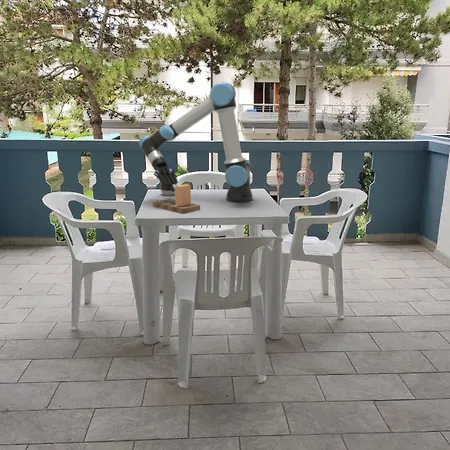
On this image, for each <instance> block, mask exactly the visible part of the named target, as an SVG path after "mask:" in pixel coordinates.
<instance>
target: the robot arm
mask: <svg viewBox="0 0 450 450" xmlns="http://www.w3.org/2000/svg"><path fill="white" fill-rule="evenodd" d="M236 96H237V93H236V89H235V87H234V85H232V84H231V83H229V82H226V81H219V82H216V83H215V84H213V86H211V88H210V92H209V95H208V97H207V98H206V99H204V100H203V101H202V102H200V103H199V104H198V105H196V106H194V107H193V108H192V109H190V110H189V111H188V112H186V113H185V114H183V115H182V116H180V117H179V118H177V119H175V121H173V122H172V123H170V124H169V125H168V124H163V125H162V126H161V127H159V128H158V129H157V131H155V132H154V133H152V134H151V135H144V136H143V137H141V138H140V139H139V141H138V144H139V146H140V149H141V150H142V152H143V153H144V155H145V157H146V158H147V160H148V162H149V163H150V165H151V167H152V168H153V170H154V173H153V176H155V177H156V178H157V180H159V181H160V182H162V183H163V185H164V186H165V187H168V188H170V189H171V191H172V192H173V193H174V194H173V195H175V186H178V183H179V182H178V179H177V176H176V172H175V169H174V168H170V167H169V166H168V163H167V160H166V159H165V158H164V156H163V155H162V153H161V152H160V150H159V149H160V148H161V147H162V146H163V145H164V144H166V143H167V142H171V141H174V140H175V139H176V138H177V137H178V136H180V135H181V134H183V133H184V132H185V131H187V130H189V129H190V128H192V127H193V126H195V125H196V124H197V123H199V122H201V121H202V120H204V118H206V117H207V116H209V115H210V114H212V113H214V112H215V113H216V114H217V117H218V121H219V122H218V123H219V126H220V127H219V128H220V132H221V139H222V144H223V149H224V155H225V161H224V162H223V165H224V170H225V171H224V172H225V173H224V178H225V181H226V183H227V184H228V185H229V187H228V189H227V193H226V201H228V202H232V203H233V202H234V203H247V202H251V201H253V199H254V196H253V193H252V189H251V184H250V183H251V181H250V180H251V179H250V177H251V161H250V160H249V159H246V158H245V157H243V155H242V149H241V144H240V136H239V131H238V125H237V121H236V120H237V119H236V113H235V110H236V109H237V102H236ZM174 172H175V173H174Z"/></svg>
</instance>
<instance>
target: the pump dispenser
mask: <svg viewBox="0 0 450 450" xmlns="http://www.w3.org/2000/svg"><path fill="white" fill-rule="evenodd" d="M174 173H175V174H176V172H175V171H174ZM159 190H160V192H161V194H162V195H164V196H167V197H168V196H173V195H175V194H174V193H173V192H172V191H171V189H170V188H168V187H165V186H164V185H163V183H162V182H161V181H160V183H159Z"/></svg>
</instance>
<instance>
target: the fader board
mask: <svg viewBox="0 0 450 450" xmlns="http://www.w3.org/2000/svg"><path fill="white" fill-rule="evenodd" d="M152 206H153V207H154V208H159V209H161V210H166V211H171V212H174V213H177V214H178V213H179V214H181V215H183V214H188V213H192V212H196V211H200V210H201V205H200V204H196V203H192V202H191V204H189V205H184V206H177V205H176V200H175V199H173V198H167V199H161V200H158V201H157V200H156V201H153V202H152Z"/></svg>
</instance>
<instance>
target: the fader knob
mask: <svg viewBox="0 0 450 450" xmlns="http://www.w3.org/2000/svg"><path fill="white" fill-rule="evenodd" d="M191 189H192V188H191V184H179V185H178V184H177V186H175V194H174V196H175V199H174V200H176V205H177V206H184V205H189V204H191V203H192V193H191V192H192V191H191Z"/></svg>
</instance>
